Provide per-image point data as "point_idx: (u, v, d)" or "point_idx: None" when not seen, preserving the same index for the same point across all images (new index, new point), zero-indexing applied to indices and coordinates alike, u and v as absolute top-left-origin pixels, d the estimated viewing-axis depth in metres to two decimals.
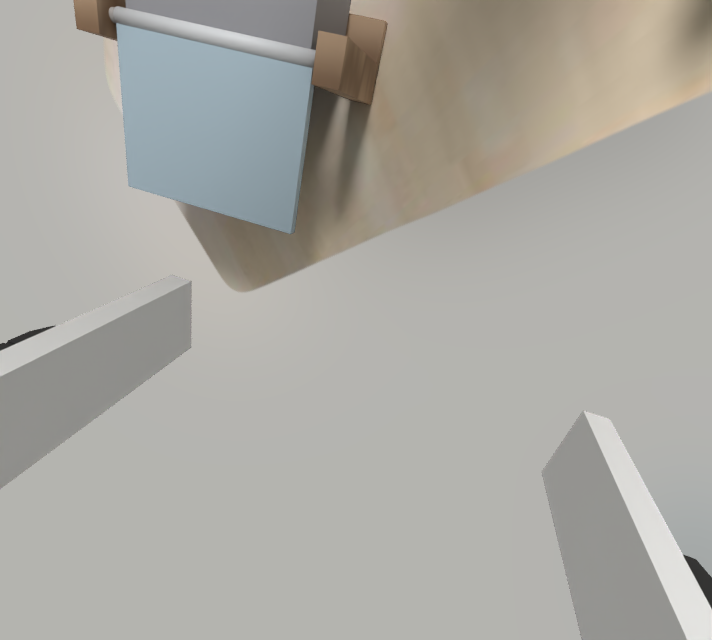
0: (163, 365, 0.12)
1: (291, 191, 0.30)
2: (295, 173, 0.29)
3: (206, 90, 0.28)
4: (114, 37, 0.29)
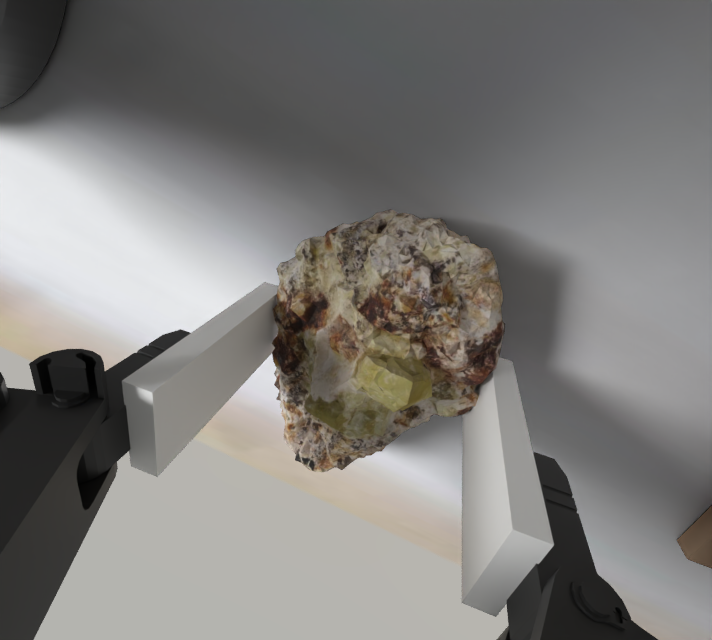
0: (258, 365, 0.13)
1: None
2: None
3: None
4: None
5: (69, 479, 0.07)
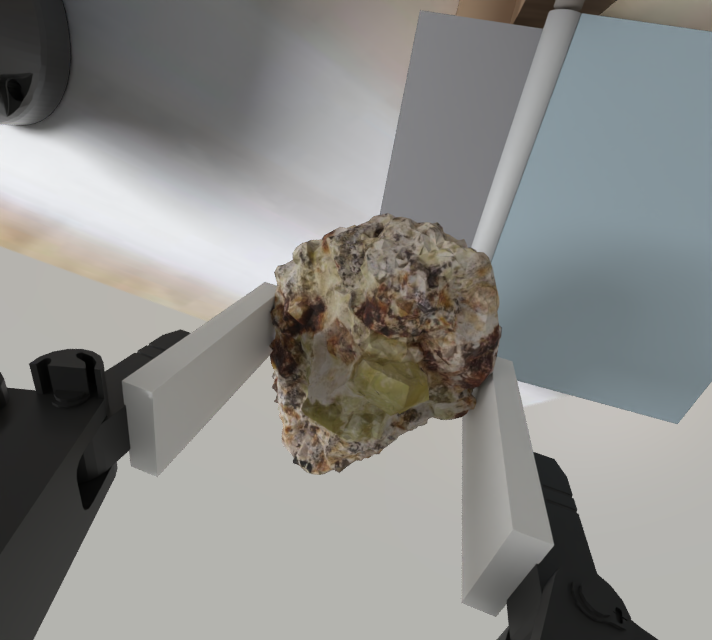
0: (258, 365, 0.13)
1: None
2: None
3: (566, 246, 0.17)
4: None
5: (69, 479, 0.07)
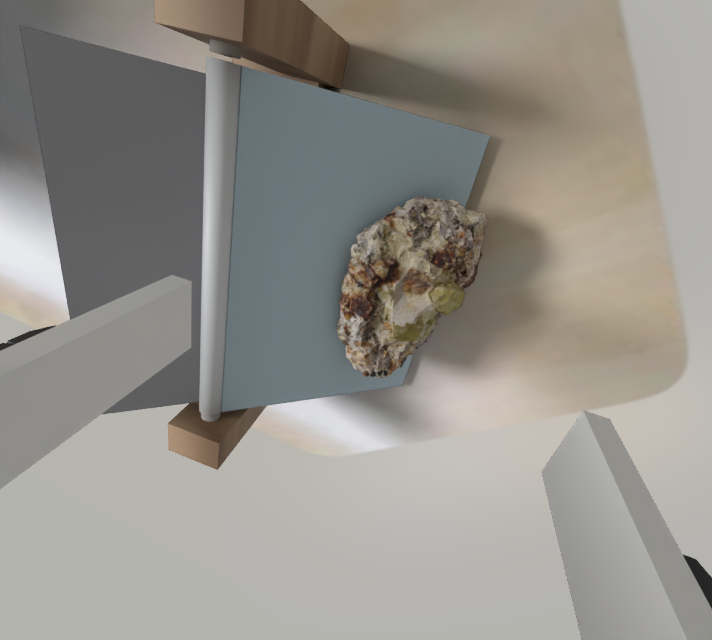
0: (163, 365, 0.12)
1: (433, 130, 0.17)
2: (408, 119, 0.16)
3: (293, 284, 0.18)
4: (232, 425, 0.20)
5: None
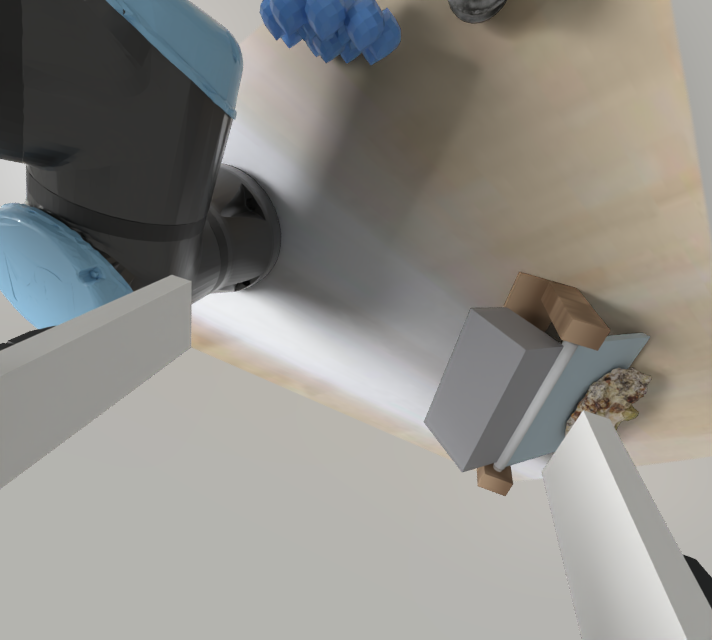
0: (163, 365, 0.12)
1: (629, 342, 0.36)
2: (622, 341, 0.36)
3: (556, 409, 0.37)
4: (510, 473, 0.40)
5: None
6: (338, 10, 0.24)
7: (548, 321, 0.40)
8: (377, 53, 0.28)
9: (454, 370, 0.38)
